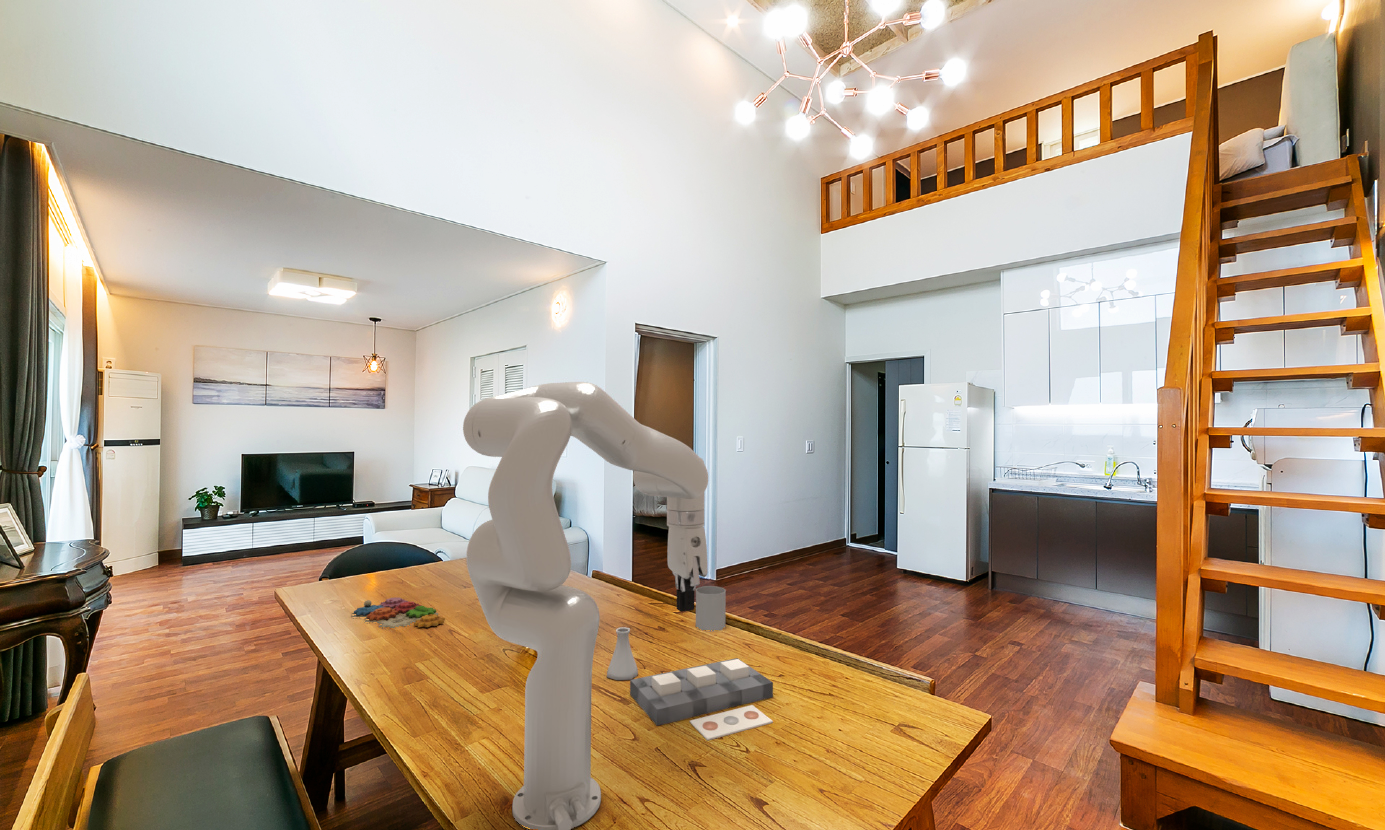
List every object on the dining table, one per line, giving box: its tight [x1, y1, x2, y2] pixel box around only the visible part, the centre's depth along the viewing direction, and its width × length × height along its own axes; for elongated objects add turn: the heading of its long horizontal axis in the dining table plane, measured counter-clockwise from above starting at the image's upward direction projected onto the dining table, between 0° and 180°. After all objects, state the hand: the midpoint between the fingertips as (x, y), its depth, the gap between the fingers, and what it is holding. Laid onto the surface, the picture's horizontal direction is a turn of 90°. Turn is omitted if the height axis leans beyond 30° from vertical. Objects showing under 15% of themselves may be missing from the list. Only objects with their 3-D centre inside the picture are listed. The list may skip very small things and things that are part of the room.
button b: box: [687, 665, 716, 688], centre depth 119 cm, size 4×4×4 cm
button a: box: [720, 658, 750, 681], centre depth 123 cm, size 4×4×4 cm
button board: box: [629, 657, 774, 727], centre depth 119 cm, size 14×26×3 cm, turn 117°
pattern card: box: [689, 704, 774, 741], centre depth 108 cm, size 7×14×1 cm, turn 117°
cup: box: [695, 585, 727, 632], centre depth 161 cm, size 8×8×10 cm
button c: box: [651, 673, 681, 696], centre depth 115 cm, size 4×4×4 cm
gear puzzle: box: [350, 596, 446, 629], centre depth 166 cm, size 31×16×4 cm, turn 58°
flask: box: [606, 626, 639, 681], centre depth 129 cm, size 7×7×10 cm
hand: (685, 609), depth 115 cm, fingers closed
